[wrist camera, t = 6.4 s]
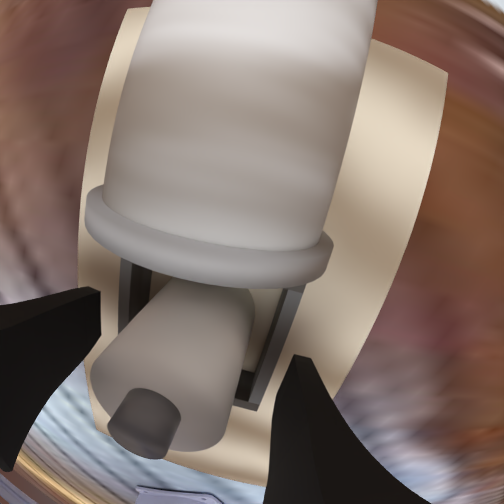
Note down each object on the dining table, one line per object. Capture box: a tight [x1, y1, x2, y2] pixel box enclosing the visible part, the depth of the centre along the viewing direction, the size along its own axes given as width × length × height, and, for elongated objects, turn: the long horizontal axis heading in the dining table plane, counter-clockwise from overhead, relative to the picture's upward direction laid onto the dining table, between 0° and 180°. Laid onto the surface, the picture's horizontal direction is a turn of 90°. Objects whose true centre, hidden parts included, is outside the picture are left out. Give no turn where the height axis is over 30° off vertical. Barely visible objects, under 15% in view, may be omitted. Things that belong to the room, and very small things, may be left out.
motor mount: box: [78, 0, 448, 487], centre depth 10 cm, size 27×14×7 cm, turn 166°
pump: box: [90, 277, 255, 459], centre depth 9 cm, size 4×4×7 cm
